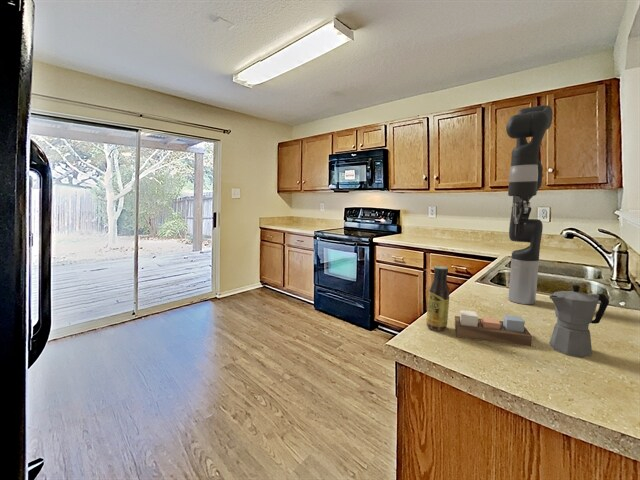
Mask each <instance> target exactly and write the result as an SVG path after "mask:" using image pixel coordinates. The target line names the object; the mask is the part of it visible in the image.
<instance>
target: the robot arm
mask: <svg viewBox="0 0 640 480" xmlns="http://www.w3.org/2000/svg"><path fill="white" fill-rule="evenodd" d="M553 116H554V115H553V108H552V107H551V106H550V105H547V104H546V105H543V104H542V105H538V106H530V107H523V108H521V109H519V111H518V112H517V114H514V115H512V116H510V118H509V119H508V120H507V123H506V126H505V130H506V135H507V136H508V137H509V138H511V139H516V141H515V142H516V143H515V144H516V145H515V147H513V148H512V150H511V155H510V156H511V159H510V161H511V162H510V170H509V175H508V187H507V188H508V193H507V196H509V197H512V206H511V213H510V220H509V228H508V236H509V240H510V241H512V242H518V243H529V244H530V245H528V246H527V247H525V248H522V249H516V250H512V253H511V260H510V273H509V286H508V300H509V301H510V302H513V303H516V304H523V305H533V304H534V305H535V304H536V301H537V297H536V296H537V286H538V276H539V274H538V273H539V263H540V253H541V252H540V250H541V242H542V236H543V227H544V225H543V222H542V221H541V219H537V218H535V219H534V218H529V217H530V214H531V212H532V206H531V202H530V200H531V199H532V198H533V197H535V196H537V193H538V191H539V189H540V188H541V186H542V184H543V183H542V182H543V169H544V168H543V167H544V166H543V165H542V163H541V161H540V159H539V152H540V148H541V145H542V141H543V138H544V135H545V133H546V131H547V130H549V128H550V127H551V126H552V122H553ZM527 138H532V139H531V140H530V141H529V142H528V140H527Z"/></svg>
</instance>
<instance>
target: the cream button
mask: <svg viewBox="0 0 640 480" xmlns="http://www.w3.org/2000/svg"><path fill="white" fill-rule="evenodd" d="M459 316H460V325H466V326H475V327H477V325H478V319H479V316H478V313H477V311H473V310H463V309H461V310H460V314H459Z"/></svg>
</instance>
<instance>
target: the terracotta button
mask: <svg viewBox="0 0 640 480" xmlns="http://www.w3.org/2000/svg"><path fill="white" fill-rule="evenodd" d="M480 319H481V326H482V327H483V328H492V329H500V325H501V324H500V322H499V321H500V320H499V319H498V318H496V317H485V316H481V318H480Z"/></svg>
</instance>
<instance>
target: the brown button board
mask: <svg viewBox="0 0 640 480" xmlns="http://www.w3.org/2000/svg"><path fill="white" fill-rule="evenodd" d="M499 322H500V324H501V325H500V329H492V328H483V327H482V326H481V318H478V325H477V327H475V326H466V325H460V315H459V316H458V315H454V324H453V325H454V329H455V334H456V338H462V339H468V340H469V339H471V340H477V341H485V342H491V343H492V342H493V343H500V344H508V345H515V346H522V347H523V346H524V347H530V348H531V347H532V344H533V342H532V341H533V336H532V334H531V332H530V331H529V330H528V329H527V328H526V326H525V325H524V332H517V331H508V330H505V329H504V327H503V320H499Z"/></svg>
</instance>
